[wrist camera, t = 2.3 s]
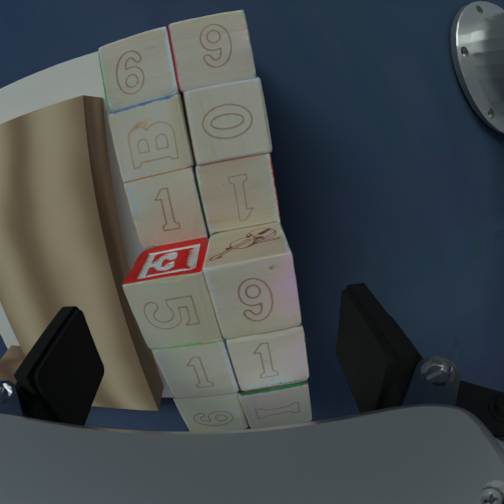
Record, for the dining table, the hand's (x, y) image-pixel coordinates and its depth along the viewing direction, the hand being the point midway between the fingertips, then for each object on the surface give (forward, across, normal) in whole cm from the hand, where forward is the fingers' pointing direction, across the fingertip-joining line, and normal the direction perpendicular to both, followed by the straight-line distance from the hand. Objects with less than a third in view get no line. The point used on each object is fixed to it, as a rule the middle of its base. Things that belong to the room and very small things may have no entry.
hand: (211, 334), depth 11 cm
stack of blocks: (+13, 0, -1) cm, 13 cm away
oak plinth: (+12, +13, +2) cm, 18 cm away
